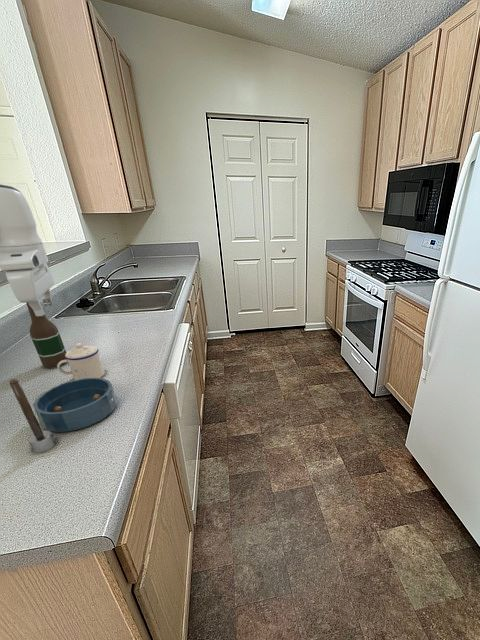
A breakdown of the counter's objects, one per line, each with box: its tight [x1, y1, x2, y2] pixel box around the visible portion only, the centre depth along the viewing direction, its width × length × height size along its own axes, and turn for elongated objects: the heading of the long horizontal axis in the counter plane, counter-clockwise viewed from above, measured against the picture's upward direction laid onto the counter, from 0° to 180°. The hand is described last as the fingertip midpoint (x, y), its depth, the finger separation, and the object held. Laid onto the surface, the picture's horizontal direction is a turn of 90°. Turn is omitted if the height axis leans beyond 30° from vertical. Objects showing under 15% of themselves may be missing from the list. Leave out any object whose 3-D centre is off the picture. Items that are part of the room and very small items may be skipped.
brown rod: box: [9, 378, 56, 454], centre depth 74 cm, size 4×4×18 cm
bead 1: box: [53, 406, 63, 412], centre depth 89 cm, size 2×2×2 cm
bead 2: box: [94, 394, 102, 400], centre depth 94 cm, size 2×2×2 cm
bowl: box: [33, 377, 118, 433], centre depth 89 cm, size 18×18×6 cm
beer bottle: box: [25, 303, 68, 369], centre depth 112 cm, size 8×8×24 cm
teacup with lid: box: [56, 342, 106, 380], centre depth 105 cm, size 12×9×12 cm
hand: (45, 310), depth 88 cm, fingers open, 8 cm apart
